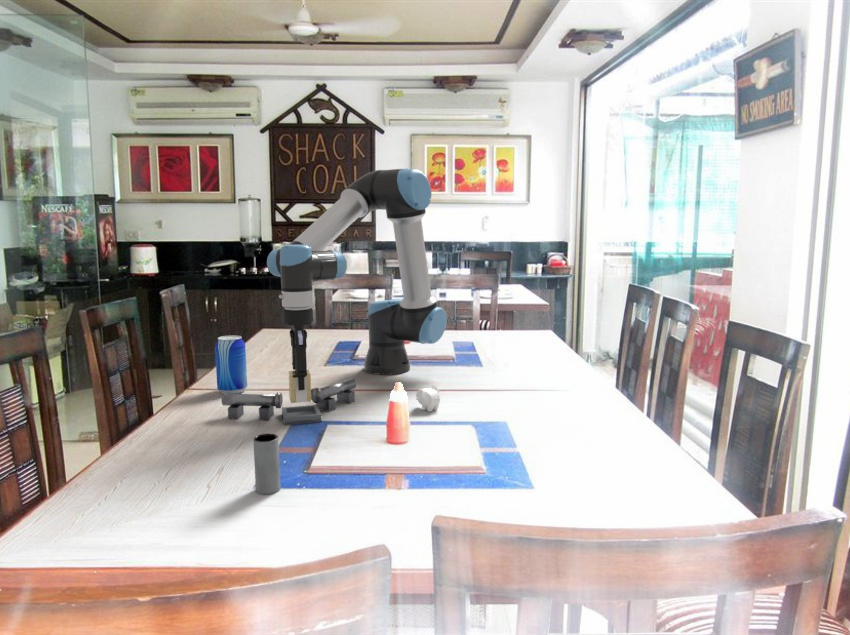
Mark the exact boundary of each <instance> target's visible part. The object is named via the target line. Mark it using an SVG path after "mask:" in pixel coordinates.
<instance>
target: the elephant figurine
mask: <svg viewBox="0 0 850 635" xmlns="http://www.w3.org/2000/svg"><path fill="white" fill-rule="evenodd" d="M439 393H440V390H439V388H438V387H437V386H436V385H433V384H432V385H431V386H430V387H425V388H419V389H418V390H417V392H416V394H415V397H416V399H415V401H417V402H418V403H419V404H420V405H421V408H422V410H423V411H427V412H433V411H436V410H438V408H439V406H440V401H441V398H440V394H439Z"/></svg>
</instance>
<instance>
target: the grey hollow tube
mask: <svg viewBox="0 0 850 635" xmlns="http://www.w3.org/2000/svg"><path fill="white" fill-rule="evenodd" d="M252 440H253V442H252V443H253V445H252V446H253V459H254V460H253V463H254V480H255V481H254V482H255V493H257V494H260V495H271V494H275V493H278V492H279V491H280V490H281V468H280V466H281V464H280V446H279V436H278V434H275V433H269V432H268V433H261V434H257V435H255V436H254V437H253V439H252Z"/></svg>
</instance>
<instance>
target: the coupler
mask: <svg viewBox="0 0 850 635" xmlns="http://www.w3.org/2000/svg"><path fill="white" fill-rule="evenodd" d="M295 374H296V371H295V370H289V371H288V388H289V390H288V393H289V396H288V397H289V402H290V404H297V403H296V391H295V378H293V375H295ZM306 380H307V402H306V403H309V402H310V403H311V402H312V400H311V390H312V383H311V380H312V379H311V373H310V370H309V369H307V376H306Z"/></svg>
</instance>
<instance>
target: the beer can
mask: <svg viewBox="0 0 850 635" xmlns="http://www.w3.org/2000/svg"><path fill="white" fill-rule="evenodd" d="M214 351H215V352H214V354H215V369H216V370H215V372H216V388H217V390H218V391H219V393H220V394H222V395H223V394H243V393H244V392H245V391H246V389H247V387H248V374H247V371H248V370H247V353H246V343H245V342H244V340H243V339H242V336H241V335H234V334H233V335H222V336H219V337H217V341H216V343H215V345H214Z"/></svg>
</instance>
